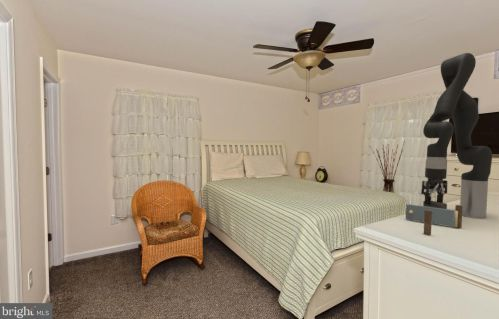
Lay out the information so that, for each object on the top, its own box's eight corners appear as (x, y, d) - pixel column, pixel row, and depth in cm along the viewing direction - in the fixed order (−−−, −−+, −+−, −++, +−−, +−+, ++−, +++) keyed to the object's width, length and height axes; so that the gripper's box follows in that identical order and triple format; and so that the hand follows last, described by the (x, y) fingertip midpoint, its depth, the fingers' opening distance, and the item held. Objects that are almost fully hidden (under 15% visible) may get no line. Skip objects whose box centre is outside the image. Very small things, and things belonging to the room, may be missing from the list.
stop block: (428, 217, 111) (429, 200, 111) (446, 221, 105) (447, 203, 105) (422, 218, 110) (423, 201, 109) (439, 223, 103) (440, 204, 103)
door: (457, 226, 97) (458, 210, 96) (457, 228, 95) (458, 212, 94) (406, 218, 108) (406, 203, 108) (405, 219, 106) (405, 204, 106)
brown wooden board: (456, 226, 98) (457, 204, 98) (461, 227, 97) (462, 205, 96) (423, 234, 90) (424, 210, 89) (428, 235, 88) (429, 211, 88)
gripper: (435, 168, 100) (432, 207, 101) (455, 168, 106) (453, 204, 106) (416, 167, 107) (414, 203, 108) (436, 166, 112) (434, 201, 113)
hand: (433, 203), depth 107 cm, fingers open, 8 cm apart
